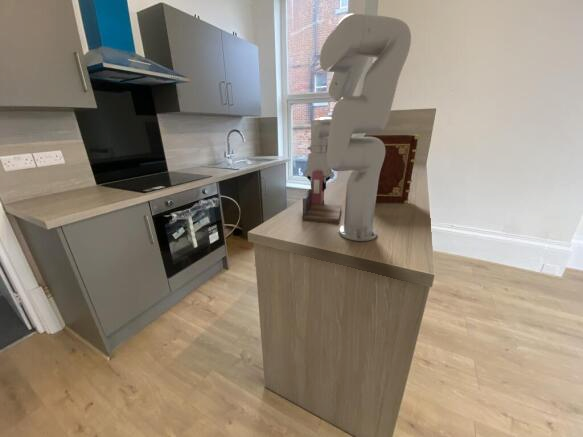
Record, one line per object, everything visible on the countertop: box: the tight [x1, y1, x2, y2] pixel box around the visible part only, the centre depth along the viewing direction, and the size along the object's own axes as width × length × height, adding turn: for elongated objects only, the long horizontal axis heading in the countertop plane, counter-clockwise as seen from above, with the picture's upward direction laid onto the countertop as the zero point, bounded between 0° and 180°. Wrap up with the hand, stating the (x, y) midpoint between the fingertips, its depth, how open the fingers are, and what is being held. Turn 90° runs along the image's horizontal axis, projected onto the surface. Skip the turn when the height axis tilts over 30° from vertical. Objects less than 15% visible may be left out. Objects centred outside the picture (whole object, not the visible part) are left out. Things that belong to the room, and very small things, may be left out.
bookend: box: [302, 188, 312, 216], centre depth 100 cm, size 14×1×7 cm, turn 166°
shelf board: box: [301, 203, 342, 225], centre depth 100 cm, size 16×14×2 cm
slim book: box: [312, 171, 325, 205], centre depth 111 cm, size 12×4×16 cm, turn 166°
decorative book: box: [363, 134, 420, 205], centre depth 111 cm, size 22×8×30 cm, turn 84°
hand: (318, 190), depth 111 cm, fingers closed on slim book, 4 cm apart
